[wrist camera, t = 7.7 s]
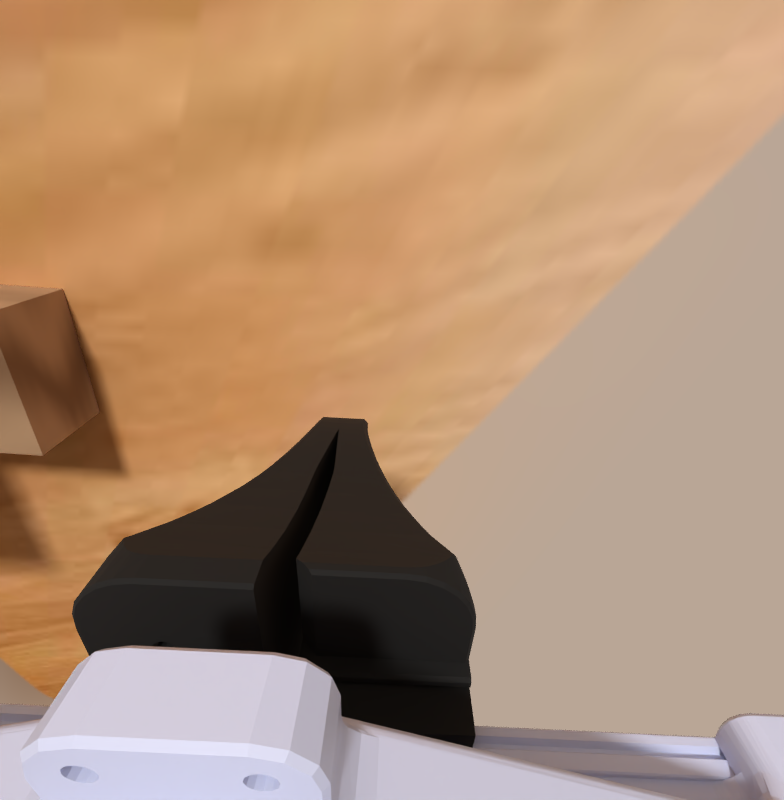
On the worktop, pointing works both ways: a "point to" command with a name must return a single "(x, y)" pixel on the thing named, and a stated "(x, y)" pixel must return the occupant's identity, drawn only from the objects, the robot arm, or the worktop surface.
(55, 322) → the tan wooden chunk
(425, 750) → the robot arm
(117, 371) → the worktop surface
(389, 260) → the worktop surface
